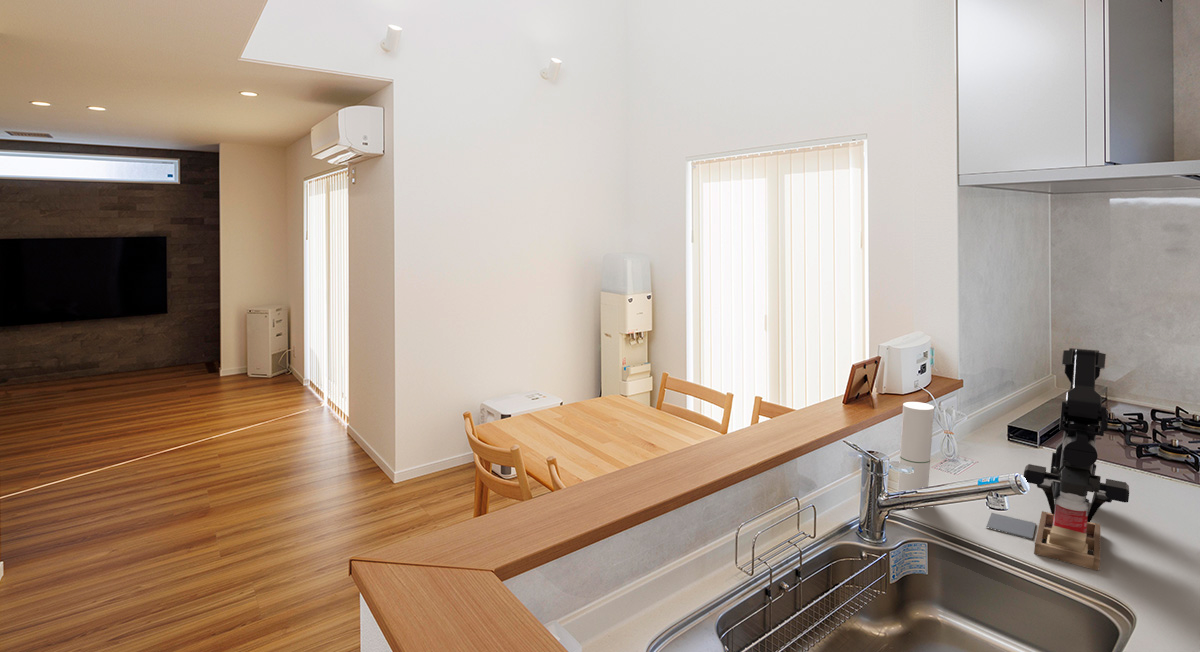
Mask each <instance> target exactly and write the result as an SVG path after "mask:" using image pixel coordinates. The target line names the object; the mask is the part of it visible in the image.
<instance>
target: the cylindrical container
mask: <svg viewBox="0 0 1200 652" xmlns="http://www.w3.org/2000/svg"><path fill="white" fill-rule="evenodd" d="M934 412H935V407H934V405H932V404H930V403H926V402H921V401H907V402H904V403H903V404H902V415H901V430H900V431H901V432H900V433H901V434H900V447H899V463H902V464H905V465H909V466H912V467H913V468H914V473H911V474H905V473H899V472H898V476H899V480H898V479H897V492H898V491H899V490H912V489H917V488H922V487H928V488H929V485H930V484H929V483H930V469H931V456H932V455H931V454H932V441H933V428H934V427H933V425H934V415H935V414H934ZM899 463H898V464H899Z"/></svg>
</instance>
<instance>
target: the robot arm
mask: <svg viewBox="0 0 1200 652" xmlns="http://www.w3.org/2000/svg"><path fill="white" fill-rule="evenodd" d="M1106 356H1107V354H1106V353H1103V352H1100V350H1097V349H1087V348H1084V349H1083V348H1076V347H1075V348H1073V347H1069V348H1068V350H1064V349H1063V351H1062V357H1061V366H1064V374H1065V375H1066V377H1067V379H1068V381H1069V382H1070V386H1069V390H1068V391H1067V392H1066V393H1065V394H1066V395H1065V401H1064V400H1062V401H1061V406H1060V416H1059V417H1060V419H1059V430H1060V431H1063V437H1062V440H1061V441H1059V442H1058V443H1057V445H1056V448H1055V452H1051V453H1052V454H1051V460H1050V461H1051V462H1050V471H1049V472H1048V471H1047V467H1046V466H1041V465H1036V464H1031V463H1028V464H1027V465H1025V468H1024V471H1023V477H1025V478H1026V480H1027V482H1028V484H1031V485H1032V484H1033V485H1036V487H1037V488H1039V489H1041V490H1042V491H1043V493H1044V494H1045V497H1046V499H1047V502H1048V506H1049V509H1050V513H1052V514H1054V508H1055V500H1056V498H1057V497H1059V496H1061V495H1060V491H1061V492H1063V493H1070V494H1075V495H1078V496H1082V497H1085V496H1086V497H1087V496H1088V492H1090V493H1093V495H1092V499H1091V503H1090V505H1089V513H1088V521H1087V522H1092V521H1091V520H1092V519H1093V518H1094V516H1095V515H1096V513H1097V512H1098V510H1099V508H1100V507H1101V506H1102V505H1104V504H1106V503H1112V502H1113V501H1116V502H1121V503H1129V497H1130V486H1129V484H1128V483H1127V482H1125V481H1120V480H1115V479H1110V478H1106V479H1105V482H1101V476H1100V475H1096V470H1097V465H1096V462H1097V460H1098V449H1097V444H1096V441H1097V436H1099V437H1104V434H1105V432H1108V428H1109V427H1108V426H1109V425H1108V424H1109V411H1107V407H1106V406H1105V405H1103V404H1102V401H1103V400H1102V395H1101V394H1100V393H1098V392H1097V391H1096V380H1098V378H1099V377H1100V375H1101V370H1104V369H1106V368H1105V366H1106V359H1107V358H1106ZM1064 422H1065V423H1064ZM1027 482H1026V483H1027ZM1084 501H1086V502H1087V503H1089V502H1090V500H1089V499H1088V498H1086V499H1085V500H1084Z"/></svg>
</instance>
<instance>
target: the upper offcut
mask: <svg viewBox="0 0 1200 652" xmlns="http://www.w3.org/2000/svg"><path fill="white" fill-rule="evenodd" d="M1050 528H1051V531H1050V539H1049V543H1052V544H1056V545H1060V546H1063V547H1067V548H1071V549H1074V550H1078V551H1082V552H1084V549H1085V544H1086V537H1088V533H1086V534H1085V533H1081V532H1077V531H1073V530H1069V529H1065V528H1061V527H1058V526H1054V525H1051V527H1050Z"/></svg>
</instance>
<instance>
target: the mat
mask: <svg viewBox="0 0 1200 652" xmlns="http://www.w3.org/2000/svg"><path fill="white" fill-rule="evenodd" d="M1036 524H1037V523H1036V522H1033V521H1028V520H1025V519H1020V518H1015V517H1013V516H1007V515H1004V514H999V513H994V512H991V513H990V516H989V518H988V521H987V523H986V526H985V528H986V527H989V528H992V529H996V530H1000V531H1003V532H1007V533H1010V534H1009V535H1011V534H1014V535H1013V536H1015V535H1017V536H1016V537H1019V536H1020V538H1023V537H1025V538H1024V539H1027V538H1028V539H1027V540H1031V539H1032V540H1033V539H1034V534H1035V530H1036V526H1037V525H1036ZM1003 532H1002V533H1003ZM1007 533H1006V534H1007Z"/></svg>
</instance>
